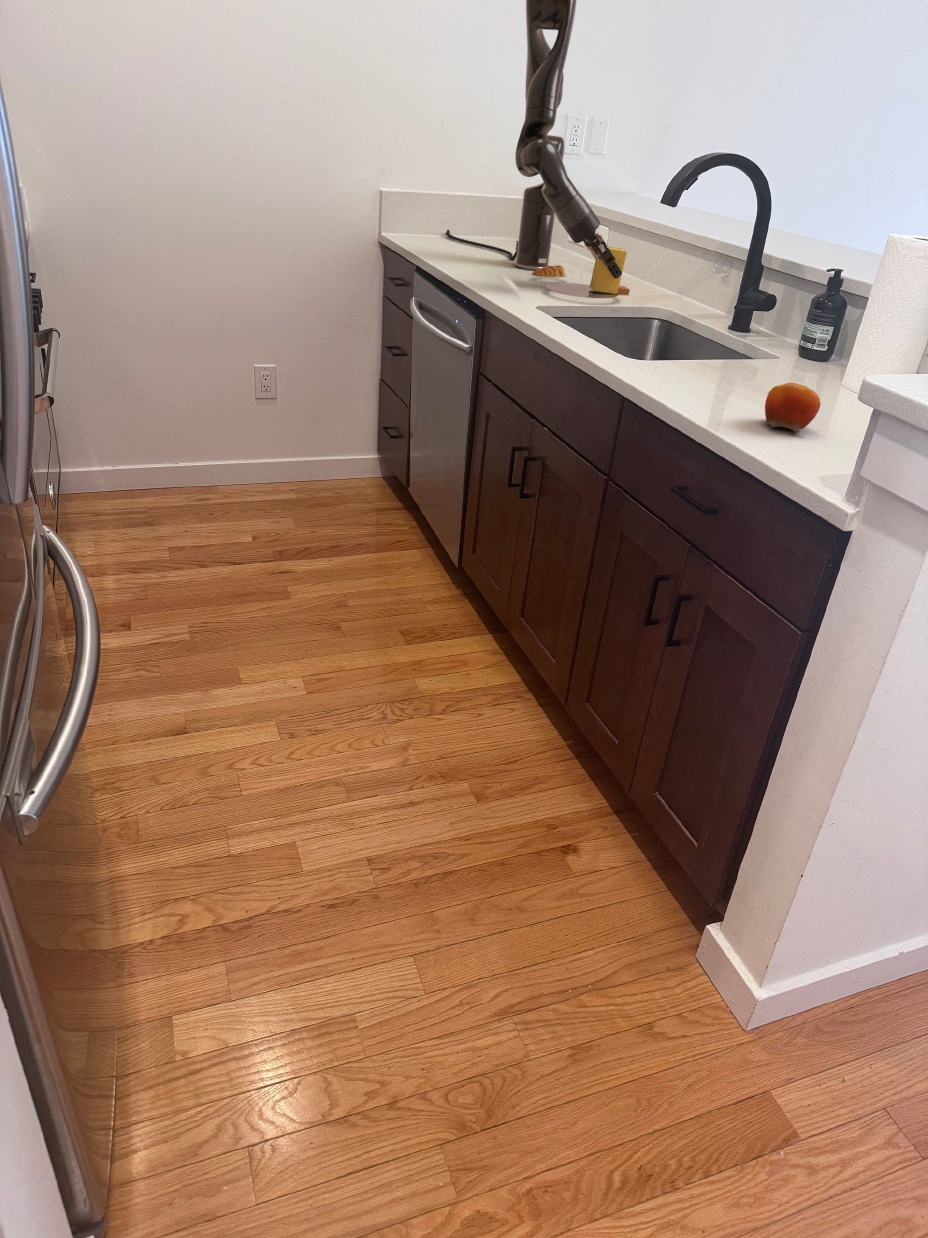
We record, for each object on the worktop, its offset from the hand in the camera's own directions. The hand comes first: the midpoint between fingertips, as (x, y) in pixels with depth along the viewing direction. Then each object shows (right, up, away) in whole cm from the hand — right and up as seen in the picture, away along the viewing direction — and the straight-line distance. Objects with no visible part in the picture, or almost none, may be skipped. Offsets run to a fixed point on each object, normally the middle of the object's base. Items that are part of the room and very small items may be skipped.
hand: (615, 273), depth 217 cm
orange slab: (+2, -4, +2) cm, 5 cm away
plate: (-9, -5, +2) cm, 10 cm away
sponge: (-3, -4, +2) cm, 5 cm away
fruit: (+13, -55, -79) cm, 97 cm away
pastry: (-15, +5, +17) cm, 23 cm away
